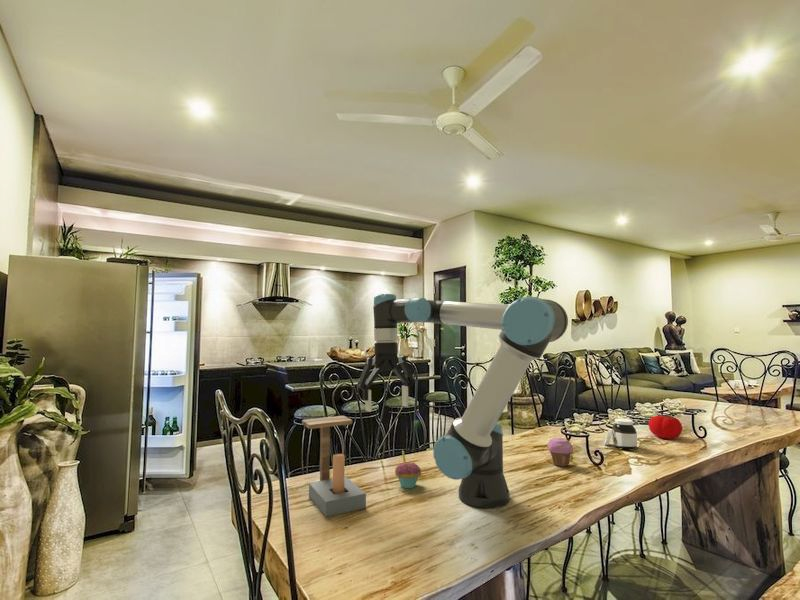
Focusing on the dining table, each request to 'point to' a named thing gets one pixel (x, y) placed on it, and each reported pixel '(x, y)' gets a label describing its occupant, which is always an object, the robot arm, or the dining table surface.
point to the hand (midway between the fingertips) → (387, 408)
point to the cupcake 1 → (407, 473)
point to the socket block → (336, 497)
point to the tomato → (665, 426)
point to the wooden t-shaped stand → (325, 439)
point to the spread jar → (623, 434)
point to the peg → (338, 473)
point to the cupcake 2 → (560, 451)
